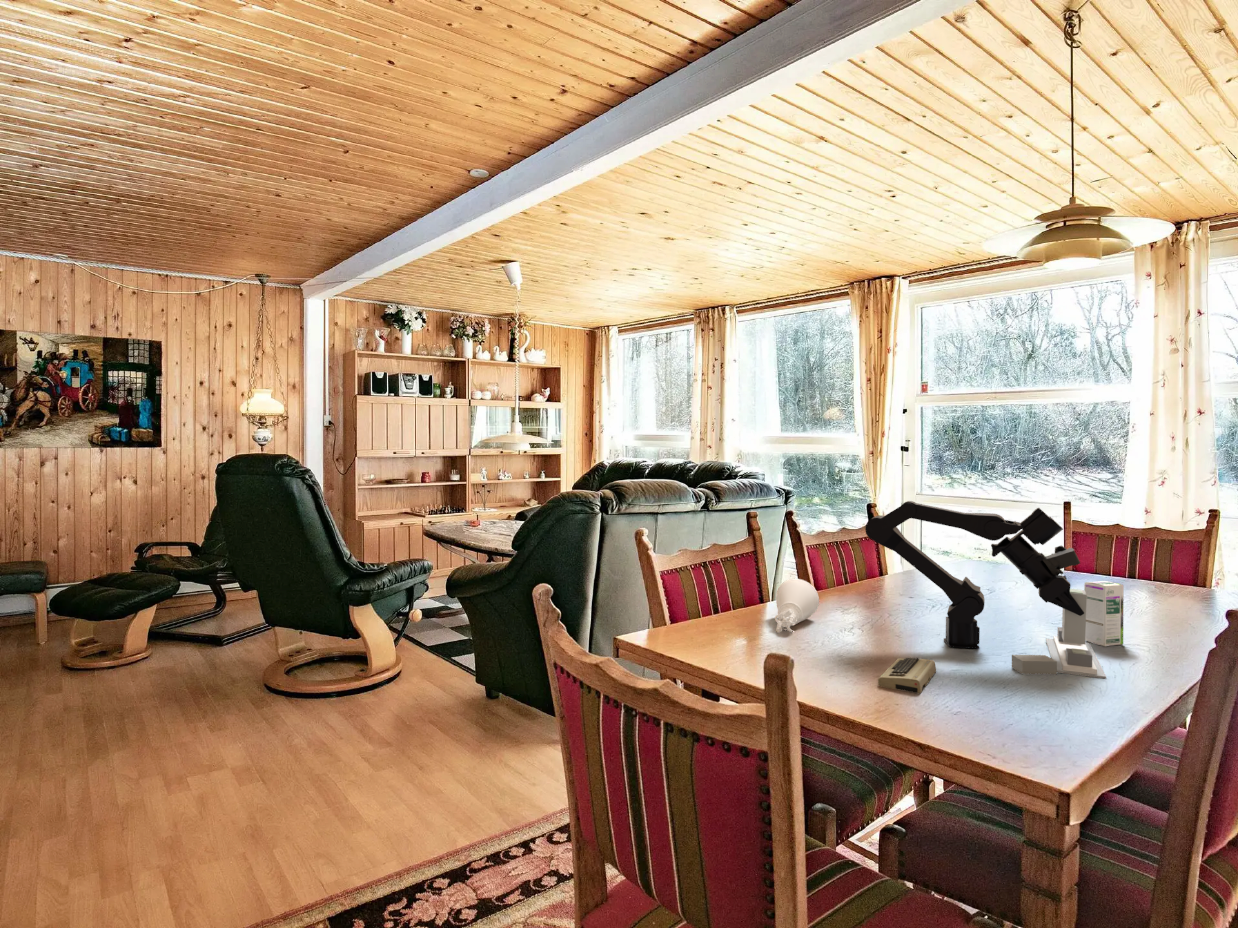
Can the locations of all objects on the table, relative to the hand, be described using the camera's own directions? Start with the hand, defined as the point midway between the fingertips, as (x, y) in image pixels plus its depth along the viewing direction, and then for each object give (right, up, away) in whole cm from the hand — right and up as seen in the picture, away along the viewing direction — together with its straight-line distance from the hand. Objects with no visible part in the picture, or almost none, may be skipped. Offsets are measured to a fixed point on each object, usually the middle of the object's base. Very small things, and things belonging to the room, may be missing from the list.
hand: (1081, 611), depth 164 cm
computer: (-44, -12, -14) cm, 47 cm away
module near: (-6, -9, -8) cm, 14 cm away
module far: (+3, -9, +10) cm, 14 cm away
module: (-1, -7, +1) cm, 7 cm away
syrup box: (+14, -10, +13) cm, 22 cm away
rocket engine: (-59, -10, +31) cm, 67 cm away
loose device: (-15, -11, -8) cm, 21 cm away
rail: (-1, -10, +1) cm, 10 cm away
